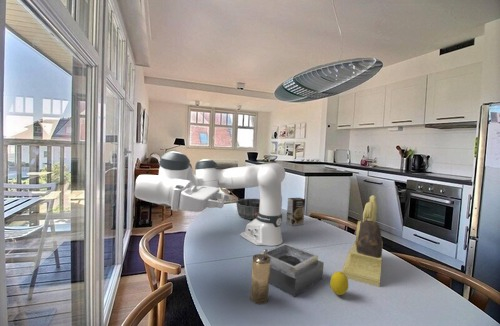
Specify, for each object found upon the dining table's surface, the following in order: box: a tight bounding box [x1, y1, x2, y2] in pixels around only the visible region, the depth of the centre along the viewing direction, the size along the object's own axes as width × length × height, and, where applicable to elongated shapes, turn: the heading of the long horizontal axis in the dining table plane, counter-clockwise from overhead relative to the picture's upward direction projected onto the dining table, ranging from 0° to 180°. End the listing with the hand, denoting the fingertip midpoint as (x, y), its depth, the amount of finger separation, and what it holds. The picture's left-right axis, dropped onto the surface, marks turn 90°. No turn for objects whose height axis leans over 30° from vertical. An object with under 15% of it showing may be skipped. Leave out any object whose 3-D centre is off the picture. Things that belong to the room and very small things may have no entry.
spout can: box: [249, 248, 271, 305], centre depth 80 cm, size 6×6×16 cm
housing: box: [260, 243, 324, 298], centre depth 95 cm, size 18×18×8 cm
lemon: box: [329, 271, 349, 297], centre depth 84 cm, size 6×6×8 cm
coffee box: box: [285, 197, 306, 227], centre depth 160 cm, size 9×6×16 cm
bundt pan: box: [235, 198, 260, 221], centre depth 172 cm, size 26×26×10 cm
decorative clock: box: [341, 194, 384, 288], centre depth 106 cm, size 28×13×30 cm, turn 152°
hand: (226, 201), depth 80 cm, fingers open, 8 cm apart
